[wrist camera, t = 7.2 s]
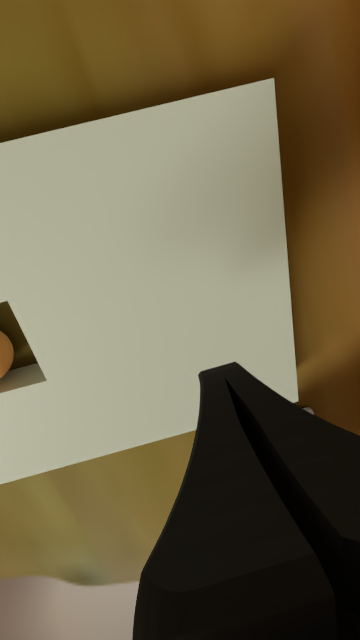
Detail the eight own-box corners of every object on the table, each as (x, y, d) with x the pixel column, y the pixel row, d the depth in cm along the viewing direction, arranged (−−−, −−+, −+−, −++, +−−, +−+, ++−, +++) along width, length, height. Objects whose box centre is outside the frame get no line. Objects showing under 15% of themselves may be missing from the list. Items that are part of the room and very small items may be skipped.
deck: (282, 379, 24) (309, 416, 20) (-41, 468, 23) (-73, 523, 19) (253, 91, 16) (289, 67, 12) (-235, 208, 15) (-349, 218, 12)
